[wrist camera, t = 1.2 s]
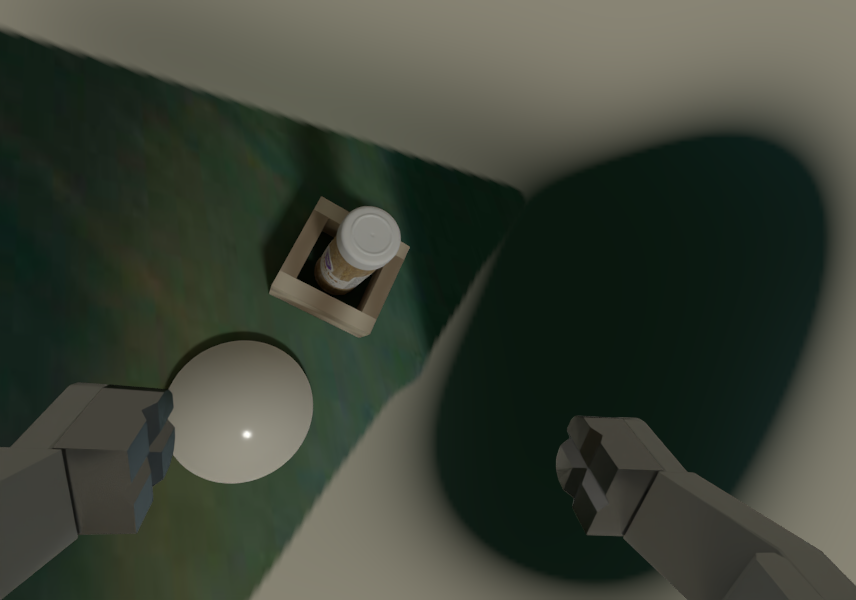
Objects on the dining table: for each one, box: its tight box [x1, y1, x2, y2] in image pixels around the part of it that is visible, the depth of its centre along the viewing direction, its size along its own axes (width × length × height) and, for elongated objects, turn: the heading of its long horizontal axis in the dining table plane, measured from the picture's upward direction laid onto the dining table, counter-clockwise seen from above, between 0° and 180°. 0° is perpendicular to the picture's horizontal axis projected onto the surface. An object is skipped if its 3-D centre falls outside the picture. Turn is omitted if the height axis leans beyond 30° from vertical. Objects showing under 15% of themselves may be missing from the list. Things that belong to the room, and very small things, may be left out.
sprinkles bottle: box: [314, 206, 401, 295], centre depth 39 cm, size 5×5×13 cm
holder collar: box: [269, 196, 410, 338], centre depth 43 cm, size 10×10×4 cm
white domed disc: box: [168, 340, 313, 483], centre depth 39 cm, size 12×12×1 cm
